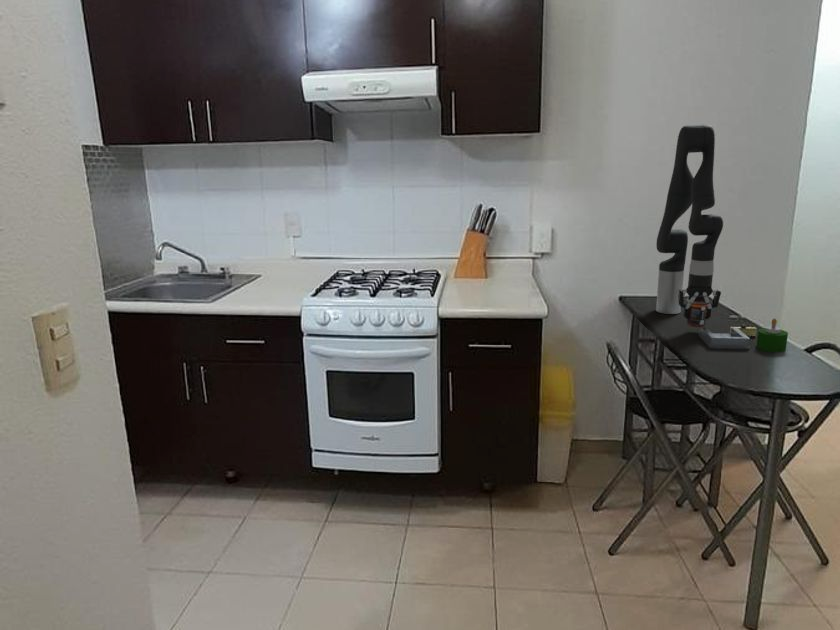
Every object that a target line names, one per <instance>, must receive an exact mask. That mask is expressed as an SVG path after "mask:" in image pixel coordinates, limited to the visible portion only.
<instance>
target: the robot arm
mask: <svg viewBox="0 0 840 630" xmlns="http://www.w3.org/2000/svg"><path fill="white" fill-rule="evenodd" d="M715 142H716V134H715V130H714V128H713V126H712V125H710V124H693V125H690V124H689V125H684V126H682V127H681V128H680V130H679V133H678V136H677V141H676V149H675V158H674V165H673V170H672V174H671V178H670V179H671V180H670V182H669V186H668V192H667V196H666V202H665V203H666V204H665V207H664V212H663V216H662V219H661V220H662V221H661V223H660V227H659V230H658V234H657V236H656V237H657V238H656V250H657V252H658V253H660V254H673V256H671V257H670V258H668V259H666V260H662V261H660V263H659V265H658V279H657V280H658V281H657V293H656V295H657V296H656V307H655V311H656V312H657V313H660V314H665V315H677V314H680V313H681V311H682V310H681V309H682V308H683V317H684V318H685V319H686V320H687V319H689V310H690V309H689V307H690V305H691V304H692V303H693V302H694V300H695V298H696V297H697V296H698V295H699V296H703V297H704V300H705V302H706V303H707V313H706V320H709V318H711V315H712V309H713V308H715V309H716V308H718V305H719V302H720V298H721V295H722V291H720V290H719V289H713V287H712V285H713V276H714V272H715V271H714V270H715V269H714V266H715V265H714V262H715V261H714V259H715V250H716V246H717V243H718V241H719V238H720V235H721V234H722V231H723V227H724V220H723V218H722V217H721V215H719V214H715V213H714V214H713V213H711V214H702V211H705V210H709V209H711V208H713V207H714V206H715V205H716V204H715V203H716V200H715V199H716V198H715V189H714V187H715V186H714V164H715V163H714V162H715V147H716V145H715V144H716V143H715ZM689 153H691V154H692V153H694V154H695V153H702V161H701V163H700V166H699V168H698V170H697V171H696V173H695V175H694V176H693V174H692V172H691V170H690V168H689V165H688V155H689ZM689 208H691V211H690V212H691V213H690V216H689V222H688V226H687V227H688V231H689V232H690V234H691V235H692V236H697V237H699V236H700V237H701V236H706V237H705V239H704V240H701V241H700V240H699V241H697V242H694V243H693V244H692V249H691V258H690V264H689V271H688V281H687V288H686V289H683V288H684V287H683V285H684V275H685V274H684V273H685V265H686V259H687V258H686V257H687V251H688V242H689V237H688V232H687V230H685V229H673V227H674V225H675V223H676V222H677V221H678V220H679V219H680V217H682V216H683V215H684V214H685V213H686V212H687V211H688V210H689ZM686 294H687V295H688V296H687V298H686V301H684V300H685V299H684V297H685V296H686ZM711 295H712V296H713V299H712V303H711V301H710V299H709V297H710V296H711ZM684 302H685V303H684Z"/></svg>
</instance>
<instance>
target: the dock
mask: <svg viewBox="0 0 840 630" xmlns="http://www.w3.org/2000/svg"><path fill="white" fill-rule="evenodd" d="M698 337H699V338H700V339H701V340H702V342H704V343H705V344H706V345H707V347H709V349H727V350H728V349H729V350H731V349H732V350H734V349H736V350H750V349H751V346H750V343H751V337H748V336H746V335H745V334H744V333H743V332H742V331H740V330H739V329H738V328H732V334H730V333H718V332H717V333H713V332H711V330H710V329H708V328H707V327H706V326H704V327H700V332H699V333H698Z"/></svg>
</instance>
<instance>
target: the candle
mask: <svg viewBox="0 0 840 630" xmlns="http://www.w3.org/2000/svg"><path fill="white" fill-rule="evenodd" d="M777 322H778V320H777V319H776V318H775V317H774V318H773V319H772V320H771V325H768V326H765V328H759V329H758V330H757V340H756V349H758V350H761V351H765V352H773V353H780V352H781V353H782V352H785V351H786V350H787V344H788V336H789V332H787V330H784V329H782V327H779V326H777Z"/></svg>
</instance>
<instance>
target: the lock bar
mask: <svg viewBox="0 0 840 630" xmlns="http://www.w3.org/2000/svg"><path fill="white" fill-rule="evenodd" d="M729 327H730V328H729V334H732V328H738V329H739V330H740V331H742V332H743V333H744V334H745V335H746V336H748V337H749V338H751V336H755V337H756V336H757V331H758V330H757V327H755V326H753V327H752V326H747V325H746V324H745V323H744V324H743V323H742V324H740V326H729ZM755 337H754V338H755Z"/></svg>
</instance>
